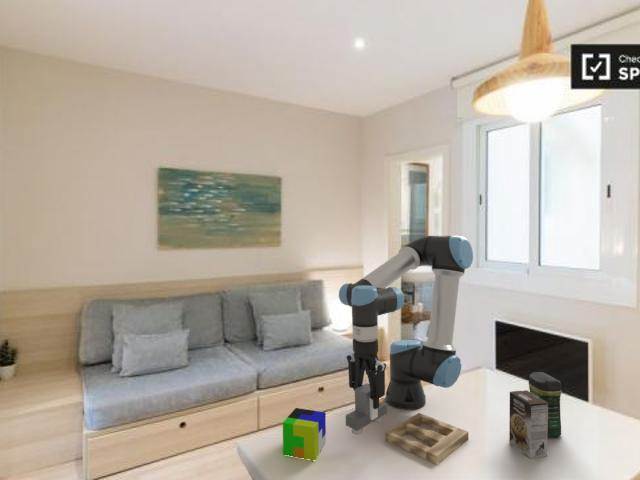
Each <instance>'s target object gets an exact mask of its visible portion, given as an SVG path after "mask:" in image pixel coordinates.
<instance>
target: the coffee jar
mask: <svg viewBox="0 0 640 480" xmlns="http://www.w3.org/2000/svg"><path fill="white" fill-rule="evenodd" d="M528 387H529V388H528V389H529V392H530V393H532V394H534V395H536V396H537V397H539V398H541V399H543V400H544V401H546V402H548V434H547V438H550V439H555V438H558V437H561V435H562V421H561V395H562V383H561V381H560V380H558V379H556V378H555V377H553V376H551V375H549V374H547V373H545V372H543V371H541V372H540V371H538V372H537V371H535V372H534V371H533V372H531V373H530V374H529V378H528Z"/></svg>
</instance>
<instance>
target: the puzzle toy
mask: <svg viewBox="0 0 640 480" xmlns="http://www.w3.org/2000/svg"><path fill="white" fill-rule="evenodd" d="M326 414H327V413H326V412H325V411H319V410H313V409H305V408H300V407H299V408H298V407H295V408H294V409H293V410H292V412H290V414H289V415H288V416H287V417H286V418H285V420H283V421H282V453H283V454H284V455H289V456H293V457H298V458H304V459H310V460H316V461H317V459H318V458H317V456H318V455H320V454H321V453H320V451H321V450H322V451H323V449H324V448H323V447H325V446H326V444H327V441H326V440H327V435H326V433H327V430H326V429H327V428H326V427H327V426H326ZM325 443H326V444H325ZM324 445H325V446H324ZM322 448H323V449H322ZM322 451H321V452H322ZM319 453H320V454H319ZM283 454H282V455H283ZM293 457H292V458H293ZM318 457H319V456H318ZM298 458H297V459H298ZM316 458H317V459H316Z"/></svg>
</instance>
